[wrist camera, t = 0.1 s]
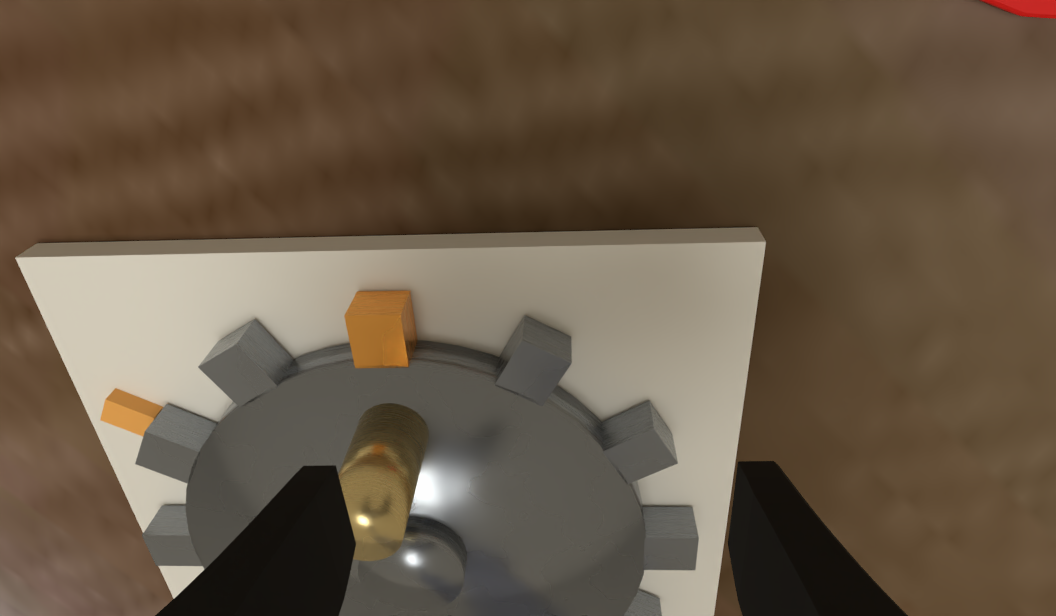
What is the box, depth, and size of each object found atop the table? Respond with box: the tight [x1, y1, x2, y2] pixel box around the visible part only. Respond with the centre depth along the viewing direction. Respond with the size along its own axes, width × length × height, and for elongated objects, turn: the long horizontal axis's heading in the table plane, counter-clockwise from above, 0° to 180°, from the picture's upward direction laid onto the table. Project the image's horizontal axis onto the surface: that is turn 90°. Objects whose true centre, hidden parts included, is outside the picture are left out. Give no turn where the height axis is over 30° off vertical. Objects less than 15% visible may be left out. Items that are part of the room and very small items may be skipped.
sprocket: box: [135, 291, 699, 616], centre depth 23 cm, size 19×19×5 cm
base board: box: [15, 227, 766, 616], centre depth 26 cm, size 22×22×2 cm
